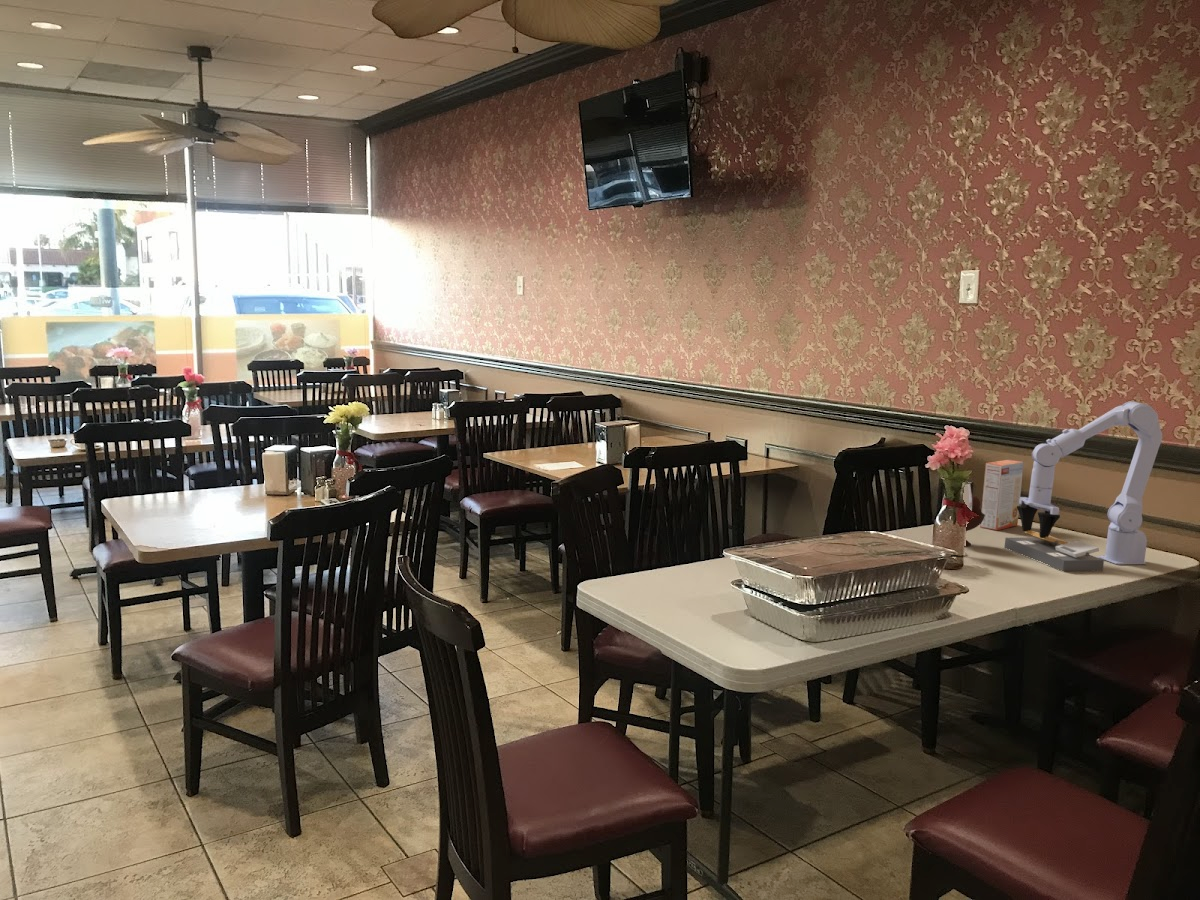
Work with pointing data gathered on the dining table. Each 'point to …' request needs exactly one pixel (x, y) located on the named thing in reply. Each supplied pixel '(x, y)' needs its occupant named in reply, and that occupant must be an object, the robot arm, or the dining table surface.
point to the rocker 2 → (1077, 549)
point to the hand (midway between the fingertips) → (1034, 534)
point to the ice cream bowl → (976, 520)
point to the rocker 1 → (1047, 539)
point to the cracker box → (1001, 494)
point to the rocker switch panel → (1053, 555)
